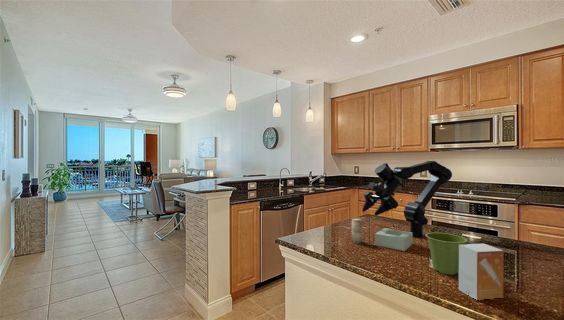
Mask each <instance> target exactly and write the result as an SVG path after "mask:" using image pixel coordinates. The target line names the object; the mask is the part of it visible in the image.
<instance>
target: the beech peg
mask: <svg viewBox="0 0 564 320" xmlns="http://www.w3.org/2000/svg"><path fill="white" fill-rule="evenodd" d="M351 243H353V244H356V245H357V244H359V245H360V244H362V243H363V220H362V219H360V218H351Z"/></svg>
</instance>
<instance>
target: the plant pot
mask: <svg viewBox="0 0 564 320" xmlns="http://www.w3.org/2000/svg"><path fill="white" fill-rule="evenodd" d="M425 237H426V238H427V242H428V245H429V250H430V251H429V252H430V257H431V262H432V267H433V270H434V271H437V272H439V273H441V274H444V275H451V276H453V275H457V274H458V275H459V245H465V244H466V243H467V242H468V239H467V238H465V237H464V236H460V235H456V234H452V233H445V232H427V233H425Z"/></svg>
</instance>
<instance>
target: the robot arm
mask: <svg viewBox="0 0 564 320" xmlns="http://www.w3.org/2000/svg"><path fill="white" fill-rule="evenodd" d="M427 171H428V173H429V174H430V180H429V182H428V183H427V185H426V186H425V188H424V189H423V190H422V192H421V193H420V194H419V196H418V197H417V199H415V201H414V202H411V201H409V202H407V204H406V206H404V210H403V216H404V218H405V221H406V222H408V223H409V232H412V233H413V237H415V238H424V237H426V233H424V226H427V225H428V223H429V219H428V218H427V217H426V215H425V214H426V207H427V205H428V204H429V203H430V201H431V200H432V198H433V197H434V196H435V194H436V193H437V191H438V190H439V189H440V187H441V186H443V185H445V184H447V183H448V182H449V181H450V180H451V179H452V177H453V172H452V171H451V169H449V168H448V167H446V166H444V165H442V164H440V163H438V162H437V161H435V160H427V161H424V162H420V163H417V164H414V165H413V164H412V165H410V166H396V167H394V168H393V169H391V167H390V166H389V164H388V163H387V162H384V163H382V164H381V165H379V166H377V167H376V168H375V169H374V173H375V174H376V176H378V177H379V179H380V180H381V181H382V182H378V183H377V182H371V181H370V182H369V184H368V186H367V189H368V190H370V191H367V190H366V191H365V192H364V193H363V196H364V200H365V201H364V204H363V207H362V209H361V211H362V212H363V213H364V212H366V211H368V210H369V209H370V208H372V207H373V206H375V204H376V203H377V202H380V205H379V206H378V207H377V209H376V210H375V212H374V216H379V215H381V214H383V213H386V212H389V211H391V210H394V209H397V208H398V207H399V202H398V201H397V200H396V199H395V198H394V196H395V192H396V190H397V189H398V188H401V189H404V181H403V180H405V181H406V180H409V179H411V178H412V177H413V176H415V175H417V174H421V173H424V172H427ZM401 180H402V181H401ZM383 182H384V183H383Z"/></svg>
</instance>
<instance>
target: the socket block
mask: <svg viewBox="0 0 564 320" xmlns="http://www.w3.org/2000/svg"><path fill="white" fill-rule="evenodd" d="M413 237H414V236H413V233H412V232H410V231H405V230H398V229H394V228H387V227H384V228H383V229H381V230H379V231H377V232H376V233H374V246H377V247H383V248H388V249H392V250H398V251H400V252H401V251H403V252H406V251H407V249H409V248H410V247H411V246H412V245H413V243H414V241H413Z"/></svg>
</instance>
